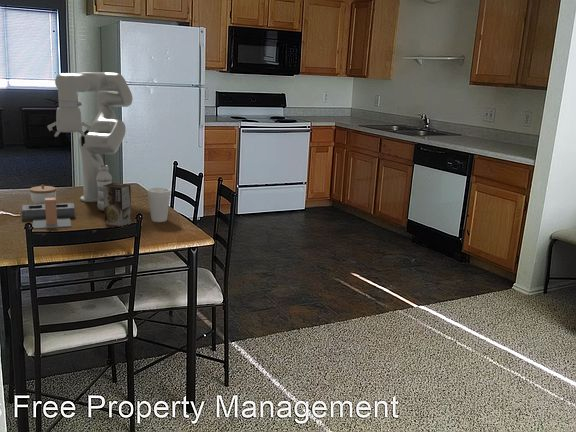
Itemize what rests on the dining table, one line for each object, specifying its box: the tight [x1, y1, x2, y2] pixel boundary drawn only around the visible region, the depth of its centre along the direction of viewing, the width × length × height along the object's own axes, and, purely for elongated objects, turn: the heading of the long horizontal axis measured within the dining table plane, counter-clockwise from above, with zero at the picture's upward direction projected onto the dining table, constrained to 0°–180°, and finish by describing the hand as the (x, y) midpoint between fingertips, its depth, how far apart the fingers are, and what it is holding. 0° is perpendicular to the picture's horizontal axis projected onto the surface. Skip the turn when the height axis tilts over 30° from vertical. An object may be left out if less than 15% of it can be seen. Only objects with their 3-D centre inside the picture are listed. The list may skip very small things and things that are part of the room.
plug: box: [45, 197, 58, 225], centre depth 226 cm, size 4×4×10 cm
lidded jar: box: [29, 184, 57, 205], centre depth 254 cm, size 11×11×9 cm
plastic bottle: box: [96, 164, 113, 212], centre depth 249 cm, size 6×7×20 cm
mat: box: [32, 217, 72, 230], centre depth 228 cm, size 14×12×1 cm
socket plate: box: [21, 202, 76, 221], centre depth 239 cm, size 20×9×4 cm, turn 112°
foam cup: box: [146, 187, 172, 223], centre depth 240 cm, size 10×9×13 cm
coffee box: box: [103, 182, 132, 227], centre depth 231 cm, size 9×6×16 cm
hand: (70, 145), depth 243 cm, fingers open, 9 cm apart
